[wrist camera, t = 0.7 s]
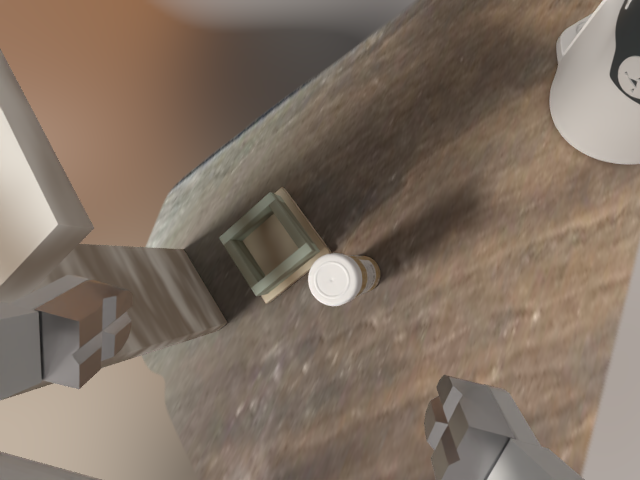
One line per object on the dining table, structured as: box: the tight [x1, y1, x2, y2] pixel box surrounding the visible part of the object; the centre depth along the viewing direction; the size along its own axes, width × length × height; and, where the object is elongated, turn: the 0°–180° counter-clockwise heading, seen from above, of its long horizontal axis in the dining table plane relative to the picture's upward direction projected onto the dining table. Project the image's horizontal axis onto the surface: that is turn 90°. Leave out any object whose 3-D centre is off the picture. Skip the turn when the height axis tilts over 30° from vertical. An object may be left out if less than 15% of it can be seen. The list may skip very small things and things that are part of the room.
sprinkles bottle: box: [308, 253, 380, 306], centre depth 35 cm, size 5×5×14 cm
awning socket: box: [0, 49, 332, 400], centre depth 31 cm, size 20×14×32 cm
